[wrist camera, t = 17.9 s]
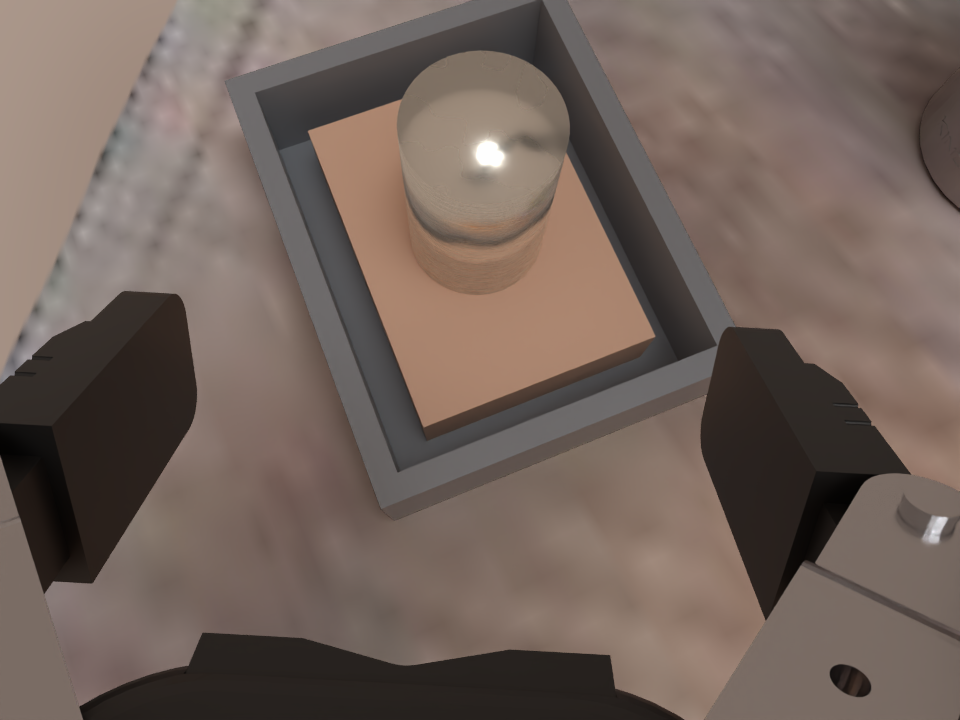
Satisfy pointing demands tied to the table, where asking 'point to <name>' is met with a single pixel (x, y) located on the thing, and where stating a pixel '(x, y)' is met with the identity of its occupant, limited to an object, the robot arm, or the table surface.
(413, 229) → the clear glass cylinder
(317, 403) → the table surface
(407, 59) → the tote
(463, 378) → the flat box
